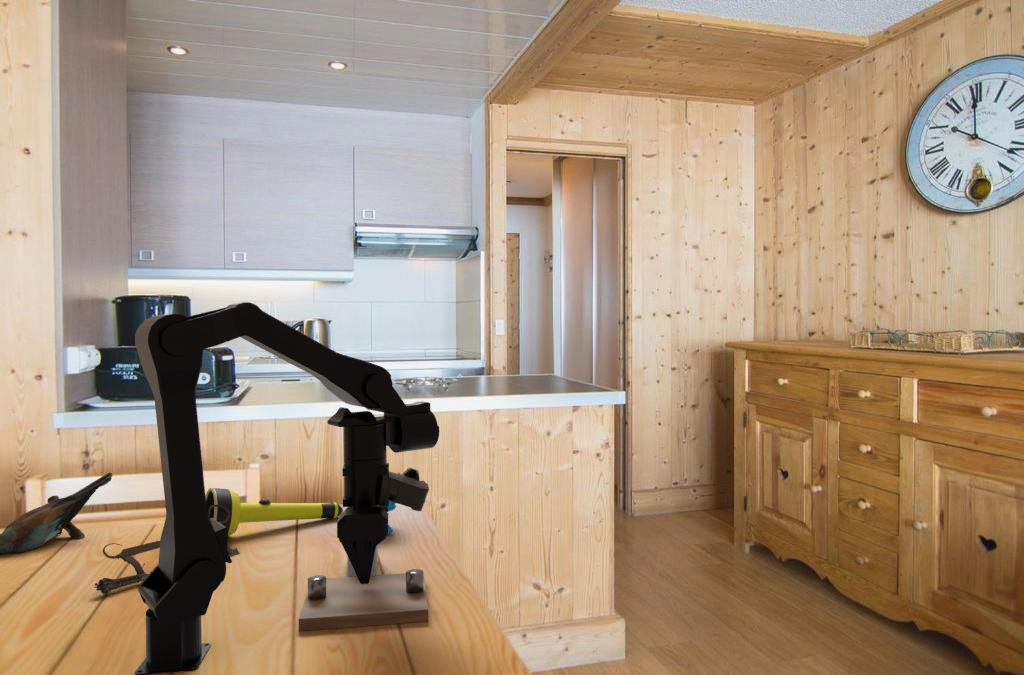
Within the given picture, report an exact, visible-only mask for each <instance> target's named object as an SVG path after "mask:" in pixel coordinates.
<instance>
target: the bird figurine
mask: <svg viewBox="0 0 1024 675" xmlns="http://www.w3.org/2000/svg"><path fill="white" fill-rule="evenodd" d="M112 477H113V472H107V473H106V474H104V475H102V476H101V477H99V478H97V479H96V480H94V481H93V482H91V483H89V484H88V485H85V487H83V488H81V489H79V490H77V491H76V492H75V493H73V494H70V495H67V496H65V497H61V498H60V497H59V495H51V496H50V497H48V498H47V503H44V504H43V505H41V506H38V507H36V508H33V509H30V510H29V511H26V512H24V513H22V514H21V515H20V516H19V517H17V518H16V519H13V521H11V523H9V524H8V525H7V526H6V527H5V528H4V529H3V531H2V532H1V533H0V554H11V553H14V554H15V553H16V554H17V553H24V552H29V551H31V550H34V549H35V550H36V549H37V548H40V547H41V546H43V545H44V544H45V543H47V542H48V541H50V540H52V539H53V538H54V537H55V536H58V534H60V535H62V534H63V531H64V530H65V532H67V534H68V536H69V537H70V538H72V539H75V540H80V539H83V538H85V536H86V535H85V534H84V533H83V531H82V530H81V529H80V528H78V527H77V526H76V525H75V524H73V523H72V520H73V519H74V518H75V517H76V516H77V515H78V514H79V512H80V511H81V510H82V509H83V507H84V506H85V505H86V504H87V503H88V501H89V500H90V499H91V497H92V495H94V494H95V492H97V490H98V489H99V488H100V487H103V486H106V485H107V484H109V483H110V482H111V481H112ZM61 533H62V534H61Z"/></svg>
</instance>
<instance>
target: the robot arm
mask: <svg viewBox="0 0 1024 675" xmlns="http://www.w3.org/2000/svg"><path fill="white" fill-rule="evenodd" d="M238 338H241V339H243V340H245V341H247V342H248V343H250V344H252V345H254V346H257V347H258V348H260V349H262V350H264V351H265V352H268V353H270V354H271V355H274V356H275V357H278V358H279V359H281V360H283V361H285V362H287V363H289V364H291V365H292V366H294V367H296V368H298V369H300V370H302V371H303V372H306V373H308V374H309V375H311V376H313V377H314V378H316V379H317V380H319V382H320V383H321V384H323V386H324V387H325V389H327V390H328V391H329V392H330V393H332V394H333V396H335V397H337V399H339V400H340V401H342V402H343V403H345V404H348V405H350V406H354V407H355V406H356V407H360V408H365V409H366V410H363V411H351V410H350V409H349V408H347V407H342V406H340V407H338V409H337V410H336V412H335V413H334V414H333V415H331V417H330V418H329V419H327V425H329V426H333V427H334V426H335V427H337V428H343V429H342V430H343V431H342V432H343V433H342V434H343V438H342V440H343V448H342V449H343V467H342V474H341V475H342V477H343V497H342V508H345V509H343V512H342V513H341V514H340V516H338V517H337V518H338V519H337V522H336V534H337V535H336V537H337V539H338V540H339V543H340V544H341V546H342V548H343V550H344V551H345V553H346V556H348V558H349V560H350V562H351V564H352V566H353V569H354V571H355V573H356V575H357V577H358V580H359V582H360V584H368V583H369V581H370V575H371V570H372V565H373V559H374V554H375V549H376V546H377V545H378V546H379V544H380V543H381V542H383V541H385V540H386V539H387V538H388V536H389V534H388V524H389V515H388V514H389V513H388V506H389V500H390V501H392V502H395V503H396V504H399V505H401V506H405V507H408V508H411V510H412V511H415V512H422V510H423V507H424V505H425V501H426V498H427V496H428V493H429V491H430V488H429V487H430V486H429V484H428V482H426V481H425V480H420V473H419V470H418V469H414V468H412V467H408V468H407V469H406V470H405V471H404V472H403V473H400V472H397V473H396V472H393V471H390V462H387V461H388V460H387V447H389V449H390V450H391V451H392V452H394V453H395V454H397V453H405V452H406V453H407V452H412V451H418V450H427V449H432V448H434V447H435V446H436V445H437V443H438V441H439V437H440V425H438V421H437V418H436V415H435V414H434V413H433V412H432V410H431V403H430V402H429V401H423V400H422V401H416V402H415V401H414V402H412V403H405V402H404V400H403V399H402V398H401V396H400V395H399V393H398V392H397V391H396V389H395V388H394V385H393V380H392V375H391V373H390V372H389V371H388V370H387V369H386V368H385V367H383V366H381V365H378V364H376V363H373V362H372V363H371V362H369V361H365V360H363V359H359V358H355V357H352V356H349V355H345V354H342V353H340V352H336V351H335V350H333V349H331V348H330V347H328V346H326V345H324V344H322V343H320V342H319V341H317V340H315V339H313V338H311V337H309V336H308V335H306V334H304V333H303V332H301V331H299V330H298V329H295V328H294V327H292V326H290V325H288V324H287V323H284V322H283V321H281V320H279V319H278V318H276V317H274V316H272V315H271V314H269V313H268V312H265V311H263V310H262V309H261V307H259V306H258V305H257V304H255V303H252V302H249V301H248V302H247V301H244V302H234V303H231V304H228V305H227V306H226V307H222V308H221V307H220V308H218V309H213V310H209V311H206V312H201V313H198V314H192V315H189V316H187V315H183V314H179V313H170V314H169V313H167V314H158V315H154V316H151V317H149V318H147V319H146V320H144V321H143V322H142V323H141V324H140V325H139V327H138V328H137V329H136V331H135V336H134V343H135V348H136V351H137V356H138V358H139V361H140V364H141V367H142V368H141V369H142V370H143V373H144V375H145V377H146V380H147V382H148V386H149V387H150V390H151V393H152V394H153V397H154V406H155V418H156V426H157V436H158V445H159V453H160V465H161V472H162V473H161V474H162V484H163V494H164V503H165V504H164V505H165V513H166V514H165V520H164V524H163V527H162V530H161V531H162V532H161V536H160V540H159V541H160V548H159V553H158V561H157V562H158V563H157V565H156V566H155V567H154V568H153V569H152V570H151V571H152V572H151V571H150V572H151V573H150V572H149V573H148V574H149V575H148V576H147V577H146V578H145V579H144V580H143V581H141V582H140V583H139V585H138V586H137V591H138V594H139V596H140V598H141V600H142V602H143V604H145V605H146V606H147V607H148V609H147V610H146V611H145V658H144V660H142V662H141V663H140V665H139V666H138V668H137V669H136V670H135V671H134V675H158V674H170V673H171V674H172V673H184V672H193V671H196V670H198V669H199V668H200V666H201V664H202V662H203V661H204V659H205V657H206V655H207V654H208V652H209V651H210V648H212V644H211V643H210V642H204V643H203V642H202V639H203V637H202V635H203V634H202V633H203V631H202V630H203V629H202V616H205V615H206V614H207V611H208V610H209V606H210V603H211V600H212V597H213V594H214V592H215V591H216V590H218V588H219V587H220V586H221V584H222V583H223V582H224V580H225V578H226V576H227V564H231V563H232V562H233V559H231V558H232V557H229V554H228V550H227V544H228V543H229V542H228V541H229V540H228V539H229V536H228V529H227V528H226V527H225V526H223V525H222V524H220V523H219V522H217V521H216V520H214V519H213V518H209V516H208V513H207V507H206V497H205V495H206V489H205V488H206V487H205V479H204V469H203V458H202V449H201V447H202V446H201V441H200V440H201V439H200V437H201V436H200V429H199V418H198V408H197V400H196V398H197V397H196V394H197V393H196V390H197V387H198V383H199V378H200V375H201V370H202V367H203V355H204V350H206V349H210V348H212V347H216V346H218V345H219V346H220V345H222V344H225V343H227V342H230V341H233V340H236V339H238ZM371 411H373V412H378V413H379V412H380V413H383V415H381V416H375V415H374V414H373V412H371Z"/></svg>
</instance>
